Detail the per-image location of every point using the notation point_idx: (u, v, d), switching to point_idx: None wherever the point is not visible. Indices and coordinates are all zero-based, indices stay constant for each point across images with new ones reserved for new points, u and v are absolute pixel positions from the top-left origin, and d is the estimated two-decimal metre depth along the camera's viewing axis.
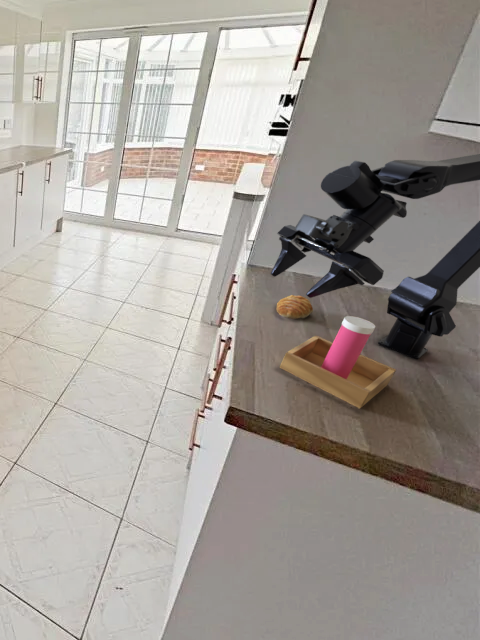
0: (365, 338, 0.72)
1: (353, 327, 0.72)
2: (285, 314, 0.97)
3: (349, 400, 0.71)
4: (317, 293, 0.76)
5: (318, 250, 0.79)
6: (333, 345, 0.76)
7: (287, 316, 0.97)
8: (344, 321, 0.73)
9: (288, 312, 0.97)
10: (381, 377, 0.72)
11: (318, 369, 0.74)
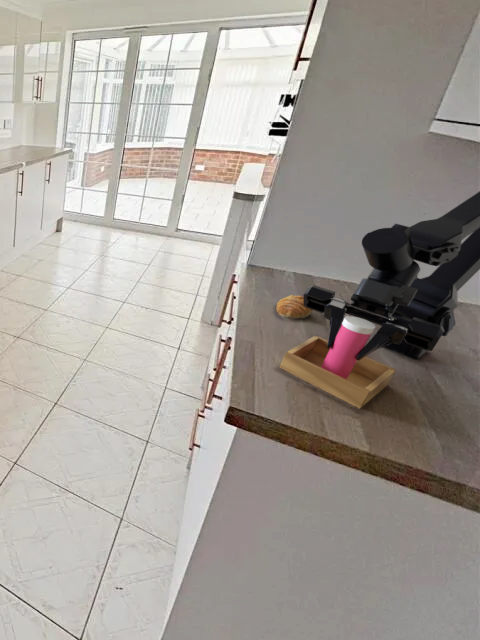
0: (365, 338, 0.72)
1: (353, 327, 0.72)
2: (285, 314, 0.97)
3: (349, 400, 0.71)
4: (365, 355, 0.73)
5: (358, 314, 0.76)
6: (333, 345, 0.76)
7: (287, 316, 0.97)
8: (344, 321, 0.73)
9: (288, 312, 0.97)
10: (381, 377, 0.72)
11: (318, 369, 0.74)
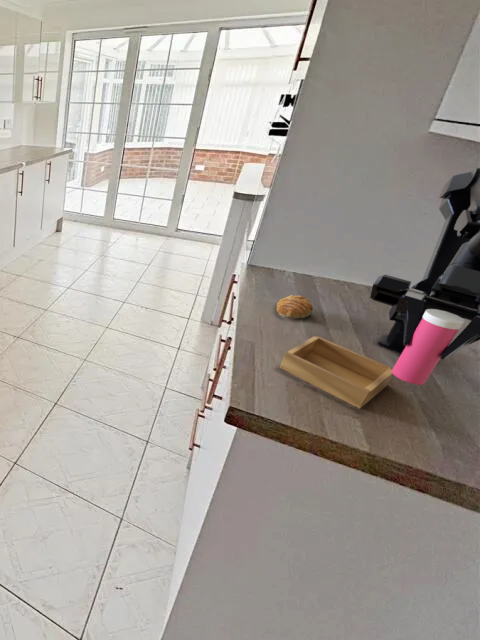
0: (452, 334, 0.63)
1: (438, 321, 0.63)
2: (285, 314, 0.97)
3: (349, 400, 0.71)
4: (451, 353, 0.64)
5: (440, 306, 0.66)
6: (411, 342, 0.66)
7: (287, 316, 0.97)
8: (426, 315, 0.64)
9: (288, 312, 0.97)
10: (381, 377, 0.72)
11: (318, 369, 0.74)
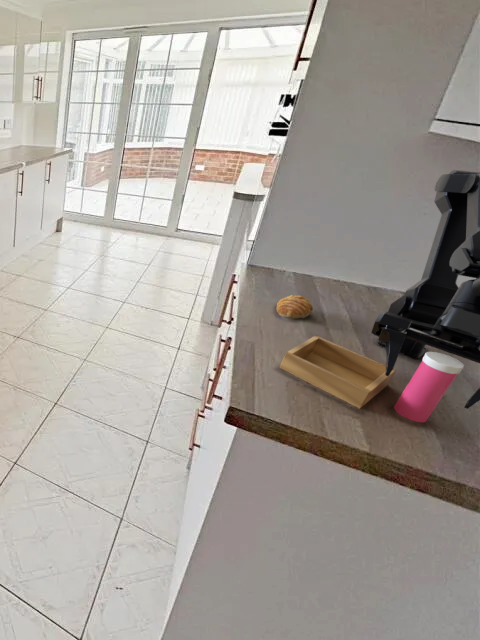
0: (452, 378, 0.64)
1: (438, 365, 0.64)
2: (285, 314, 0.97)
3: (349, 400, 0.71)
4: (475, 403, 0.63)
5: (441, 345, 0.67)
6: (411, 384, 0.67)
7: (287, 316, 0.97)
8: (426, 358, 0.65)
9: (288, 312, 0.97)
10: (381, 377, 0.72)
11: (318, 369, 0.74)
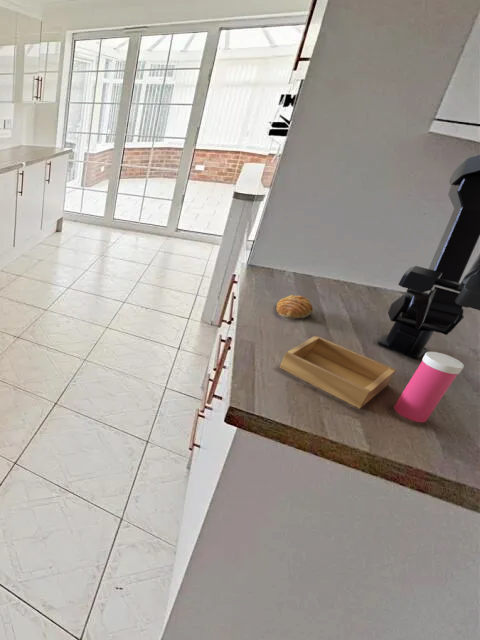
0: (452, 378, 0.64)
1: (438, 365, 0.64)
2: (285, 314, 0.97)
3: (349, 400, 0.71)
4: None
5: None
6: (411, 384, 0.67)
7: (287, 316, 0.97)
8: (426, 358, 0.65)
9: (288, 312, 0.97)
10: (381, 377, 0.72)
11: (318, 369, 0.74)
